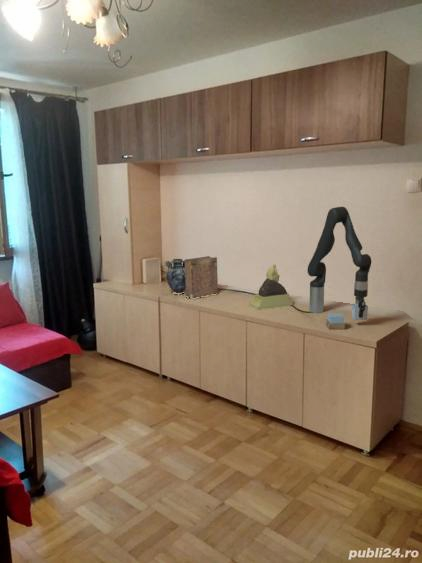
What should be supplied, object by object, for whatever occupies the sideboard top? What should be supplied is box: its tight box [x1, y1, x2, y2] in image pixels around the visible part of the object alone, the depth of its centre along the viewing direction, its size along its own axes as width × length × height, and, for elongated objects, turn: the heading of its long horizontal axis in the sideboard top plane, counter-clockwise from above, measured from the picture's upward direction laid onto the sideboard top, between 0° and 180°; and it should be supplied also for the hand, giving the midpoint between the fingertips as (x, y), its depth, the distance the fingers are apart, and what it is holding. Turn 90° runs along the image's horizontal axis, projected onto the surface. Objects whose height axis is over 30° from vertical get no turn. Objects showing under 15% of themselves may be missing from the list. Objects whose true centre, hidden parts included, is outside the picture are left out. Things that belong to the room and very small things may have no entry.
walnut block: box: [325, 319, 346, 331], centre depth 270 cm, size 9×9×4 cm
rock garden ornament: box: [248, 264, 294, 311], centre depth 322 cm, size 28×13×30 cm, turn 113°
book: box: [184, 255, 219, 298], centre depth 357 cm, size 25×9×30 cm, turn 131°
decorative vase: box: [165, 258, 187, 293], centre depth 369 cm, size 21×19×28 cm
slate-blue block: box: [326, 312, 345, 323], centre depth 269 cm, size 8×8×4 cm
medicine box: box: [351, 303, 369, 321], centre depth 272 cm, size 8×4×9 cm, turn 92°
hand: (359, 316), depth 273 cm, fingers closed on medicine box, 4 cm apart
